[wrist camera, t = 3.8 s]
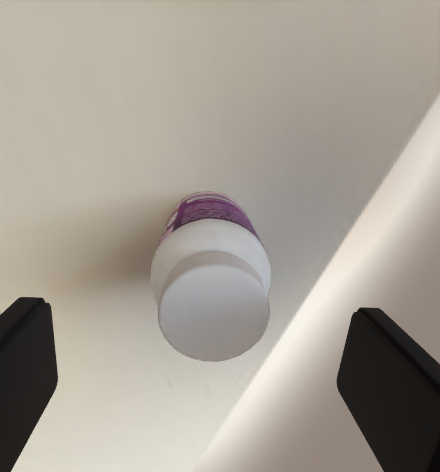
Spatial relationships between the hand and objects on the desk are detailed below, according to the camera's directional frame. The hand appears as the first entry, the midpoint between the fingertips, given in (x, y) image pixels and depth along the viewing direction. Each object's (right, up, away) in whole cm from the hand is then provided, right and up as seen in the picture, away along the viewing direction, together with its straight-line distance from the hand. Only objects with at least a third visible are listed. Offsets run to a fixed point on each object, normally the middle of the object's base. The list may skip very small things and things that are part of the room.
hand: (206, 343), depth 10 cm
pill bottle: (0, +4, +10) cm, 11 cm away
